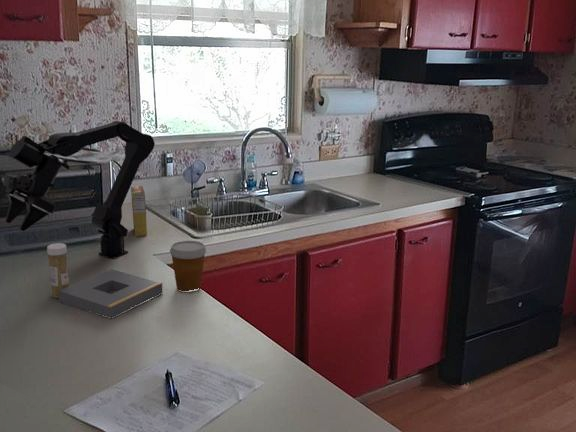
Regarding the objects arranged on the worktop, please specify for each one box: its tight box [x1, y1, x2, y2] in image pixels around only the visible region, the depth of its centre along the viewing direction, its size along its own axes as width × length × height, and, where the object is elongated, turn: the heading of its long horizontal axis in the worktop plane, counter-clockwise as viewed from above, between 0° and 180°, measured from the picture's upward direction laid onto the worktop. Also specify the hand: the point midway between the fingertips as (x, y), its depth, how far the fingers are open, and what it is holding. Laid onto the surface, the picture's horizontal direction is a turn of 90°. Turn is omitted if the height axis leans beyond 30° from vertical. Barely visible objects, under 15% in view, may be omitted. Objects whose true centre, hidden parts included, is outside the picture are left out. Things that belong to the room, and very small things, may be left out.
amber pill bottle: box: [46, 242, 70, 299], centre depth 154 cm, size 5×5×14 cm
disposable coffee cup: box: [169, 240, 207, 292], centre depth 161 cm, size 10×10×12 cm
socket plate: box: [58, 269, 164, 318], centre depth 155 cm, size 18×18×3 cm
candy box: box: [130, 185, 148, 237], centre depth 206 cm, size 9×4×15 cm, turn 17°
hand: (14, 226), depth 163 cm, fingers open, 9 cm apart
